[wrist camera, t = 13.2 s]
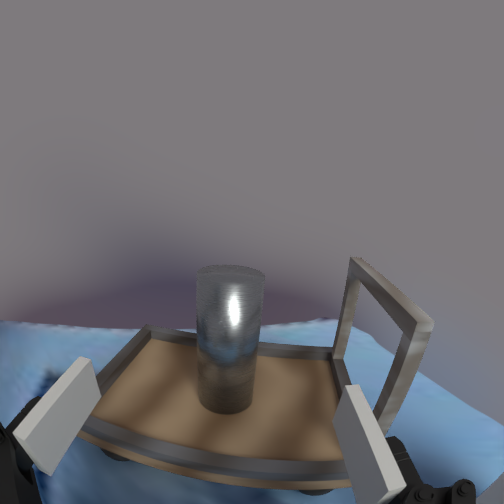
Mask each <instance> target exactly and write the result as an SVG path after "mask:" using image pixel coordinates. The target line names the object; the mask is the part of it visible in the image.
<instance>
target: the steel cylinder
mask: <svg viewBox="0 0 504 504" xmlns="http://www.w3.org/2000/svg"><path fill="white" fill-rule="evenodd" d="M264 284H265V275H264V274H263V273H262V272H260V271H258V270H256V269H252V268H249V267H244V266H236V265H213V266H208V267H204V268H202V269H200V270H198V271H197V374H198V397H199V401H200V403H201V404H202V406H203V407H204V408H206V409H207V410H209V411H211V412H214V413H217V414H222V415H232V414H237V413H240V412H242V411H244V410H246V409H247V408H248V407H249V406H250V405H251V403H252V399H253V390H254V381H255V372H256V363H257V354H258V344H259V335H260V325H261V315H262V305H263V294H264Z"/></svg>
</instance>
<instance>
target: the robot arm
mask: <svg viewBox="0 0 504 504" xmlns="http://www.w3.org/2000/svg"><path fill="white" fill-rule="evenodd" d="M100 398H101V394H100V390H99V387H98V384H97V380H96V377H95V373H94V369H93V365H92V361H91V359H88V358H84V357H81V356H80V357H79V358H78V359H77V360H76V361H75V362H74V363H73V364H72V365H71V366H70V367H69V368H68V370H67V371H66V372H65V373H64V374H63V375H62V376H61V377H60V378H59V379H58V380H57V382H56V383H55V384H54V385H53V386H52V387H51V388H50V389H49V390H48V392H47V393H46V394H45V395H44V396H43V397H42V398H41V397H39V396H37V397H35V398H33V399H32V400H30V401H29V402H28V403H27V404H26V406H25V408H23V409H22V410H21V412H19V414H18V415H17V416H16V417H15V418H14V419H13V420H12V422H11V423H10V424H9V425H8V426H7V427H6V429H4V427H3V426H2V424H1V422H0V504H42V501H41V498H40V494H39V490H38V486H37V482H36V478H35V474H34V470H33V468H32V465H33V463H34V464H35V465H36V466H37V468H38V469H39V470H41V471H42V472H44V473H46V474H48V475H49V476H52V474H53V473H54V471H55V469H56V468H57V466H58V464H59V463H60V461H61V459H62V458H63V456H64V454H65V453H66V451H67V449H68V448H69V446H70V445H71V443H72V441H73V440H74V438H75V437H76V435H77V433H78V432H79V430H80V429H81V427H82V426H83V424H84V422H85V421H86V419H87V418H88V416H89V415H90V413H91V412H92V410H93V409H94V407H95V406H96V404H97V403H98V401H99V400H100ZM332 422H333V426H334V429H335V432H336V435H337V438H338V442H339V445H340V448H341V452H342V455H343V458H344V461H345V465H346V468H347V472H348V475H349V478H350V482H351V485H352V489H353V492H354V496H355V499H356V503H357V504H476V489H475V485H474V484H473V483H472V482H471V481H470V480H467V479H462V480H459V481H457V482H456V483H455V484H454V485H453V486H452V487H444V488H433V487H432V486H430V485H428V484H424V483H423V482H422V480H421V479H420V477H419V475H418V473H417V471H416V469H415V467H414V465H413V463H412V461H411V459H410V457H409V455H408V453H407V452H406V449H405V447H404V445H403V443H402V442H401V441H400V440H399V439H398V438H396V437H395V436H393V437H388V438H385V437H384V435H383V433H382V431H381V429H380V427H379V425H378V423H377V421H376V419H375V416H374V414H373V412H372V410H371V408H370V406H369V404H368V402H367V400H366V398H365V396H364V394H363V392H362V390H361V388H360V386H359V385H345V387H344V390H343V393H342V396H341V399H340V401H339V404H338V407H337V410H336V412H335V415H334V418H333V420H332Z"/></svg>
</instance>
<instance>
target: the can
mask: <svg viewBox="0 0 504 504" xmlns="http://www.w3.org/2000/svg"><path fill="white" fill-rule="evenodd" d="M476 504H504V472H503V473H502V474H501V475H500V476H499V477H498V478H497V479H496V480H495V481H494V482H493V483H492V484H491V485H490V486H489V487H488V488H487V489H486V490H485V491H484V492H483V493H482V494H481V495H480V496H479V497H477V498H476Z"/></svg>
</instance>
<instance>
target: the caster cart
mask: <svg viewBox="0 0 504 504" xmlns="http://www.w3.org/2000/svg"><path fill="white" fill-rule="evenodd" d="M360 283H362V284H363V285H364V286H365V287H366V288H367V290H368V291H369V292H370V293H371V294H372V295H373V297H374V298H375V299H376V300H377V301H378V302H379V304H380V305H381V306H382V307H383V308H384V309H385V311H386V312H387V313H388V314H389V315H390V316H391V318H392V319H393V320H394V321H395V323H396V324H397V325H398V326H399V328H400V329H401V330H402V331H403V334H402V337H401V341H400V344H399V346H398V349H397V352H396V355H395V358H394V361H393V364H392V366H391V369H390V372H389V374H388V377H387V379H386V382H385V384H384V387H383V389H382V392H381V394H380V396H379V399H378V401H377V403H376V405H375V408H374V410H373V414H374V416H375V419H376V421H377V423H378V425H379V427H380V429H381V431H382V433H383V435H384V436H385V435H386V433H387V431H388V429H389V428H390V426H391V424H392V422H393V420H394V418H395V417H396V415H397V413H398V411H399V409H400V407H401V405H402V403H403V401H404V399H405V397H406V395H407V392H408V390H409V388H410V386H411V384H412V381H413V379H414V377H415V374H416V372H417V370H418V367H419V365H420V362H421V360H422V357H423V354H424V352H425V349H426V346H427V344H428V341H429V338H430V334H431V332H432V328H433V326H434V323H435V322H434V321H433V320H432V319H431V318H430V317H429V316H428V315H427V314H426V313H425V312H423V311H422V310H421V309H420V308H419V307H418V306H417V305H416V304H415V303H414V302H412V301H411V300H410V299H409V298H408V297H407V296H406V295H404V294H403V293H402V292H401V291H400V290H399V289H398V288H396V287H395V286H394V285H393V284H392V283H391V282H390V281H388V280H387V279H386V278H385V277H384V276H382V275H381V274H380V273H379V272H378V271H376V270H375V269H374V268H373V267H372V266H370V265H369V264H368V263H367V262H366V261H364V260H363V259H362V258H357V257H350V262H349V268H348V275H347V280H346V286H345V292H344V297H343V302H342V307H341V313H340V317H339V322H338V327H337V331H336V336H335V340H334V344H333V347H317V346H301V345H288V344H276V343H265V342H259V344H258V354H257V363H256V372H255V381H254V390H253V399H252V403H251V405H250V406H249V407H248V408H247V409H246V410H244V411H242V412H240V413H237V414H232V415H222V414H217V413H214V412H211V411H209V410H207V409H206V408H204V407H203V406H202V404H201V403H200V401H199V397H198V374H197V334H196V333H190V332H184V331H179V330H173V329H167V328H162V327H157V326H152V325H145V326H144V327H143V328H142V329H141V330H140V331H139V332H138V333H137V334H136V335H135V336H134V337H133V338H132V339H131V340H130V341H129V342H128V343H127V344H126V346H125V347H124V348H123V349H122V350H121V351H120V352H119V353H118V354H117V355H116V356H115V357H114V358H113V359H112V360H111V361H110V362H109V363H108V364H107V365H106V366H105V367H104V368H103V370H102V371H101V372H100V373H99V374H98V375H97V376H96V380H97V384H98V387H99V390H100V394H101V398H100V400H99V401H98V403H97V404H96V406H95V407H94V409H93V410H92V412H91V413H90V415H89V416H88V418H87V419H86V421H85V422H84V424H83V426H82V427H81V429H80V430H79V432H78V433H77V435H76V436H78V437H80V438H82V439H84V440H86V441H88V442H90V443H92V444H94V445H96V446H99V447H100V448H101V450H102V451H103V452H104V453H105V454H106V455H107V456H109V457H110V458H112V459H115V460H118V461H129V460H133V461H136V462H139V463H142V464H145V465H148V466H151V467H154V468H157V469H161V470H164V471H168V472H171V473H175V474H179V475H183V476H187V477H191V478H196V479H201V480H206V481H211V482H217V483H223V484H229V485H236V486H244V487H254V488H266V489H286V490H299V491H300V492H302V493H304V494H307V495H312V496H317V495H323V494H326V493H328V492H330V491H332V490H333V489H335V488H346V487H352V485H351V482H350V478H349V475H348V472H347V468H346V465H345V461H344V458H343V455H342V452H341V448H340V445H339V442H338V438H337V435H336V432H335V429H334V426H333V422H332V420H333V418H334V415H335V412H336V410H337V407H338V404H339V401H340V399H341V396H342V393H343V390H344V387H345V385H352V384H351V381H350V378H349V375H348V372H347V369H346V366H345V363H344V360H343V357H344V354H345V350H346V346H347V342H348V338H349V334H350V330H351V326H352V322H353V317H354V313H355V308H356V304H357V299H358V294H359V288H360Z"/></svg>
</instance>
